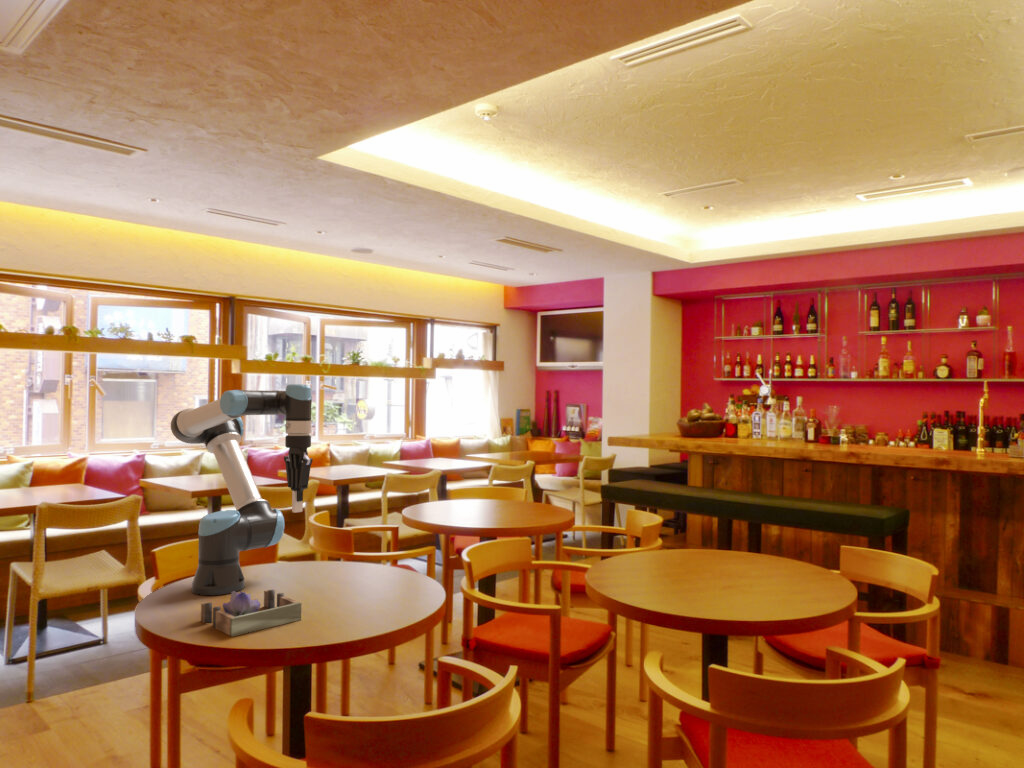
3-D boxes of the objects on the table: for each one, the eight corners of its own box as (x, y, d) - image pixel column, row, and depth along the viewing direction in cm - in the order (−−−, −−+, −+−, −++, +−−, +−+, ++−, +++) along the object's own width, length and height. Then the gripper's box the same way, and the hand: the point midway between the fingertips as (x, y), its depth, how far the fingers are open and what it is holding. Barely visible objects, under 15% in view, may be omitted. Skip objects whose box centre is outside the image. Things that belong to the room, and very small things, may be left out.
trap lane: (199, 621, 187) (200, 602, 187) (268, 605, 202) (269, 587, 202) (231, 637, 175) (231, 616, 175) (302, 619, 189) (302, 600, 189)
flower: (260, 603, 181) (248, 579, 188) (227, 621, 177) (216, 596, 184) (271, 626, 186) (259, 601, 193) (239, 644, 183) (228, 618, 190)
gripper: (276, 434, 218) (275, 510, 218) (298, 435, 209) (297, 515, 209) (298, 433, 224) (297, 508, 223) (320, 435, 215) (319, 512, 214)
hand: (297, 511), depth 216 cm, fingers closed
